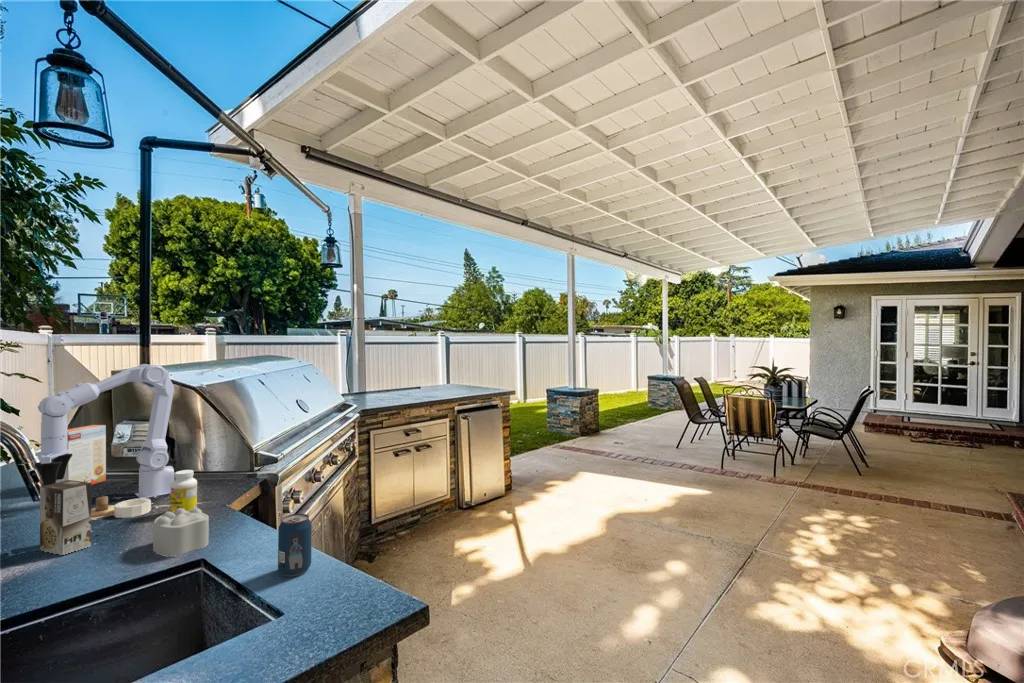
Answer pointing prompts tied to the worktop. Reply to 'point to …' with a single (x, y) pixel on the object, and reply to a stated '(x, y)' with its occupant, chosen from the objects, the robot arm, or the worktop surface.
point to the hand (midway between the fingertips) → (54, 482)
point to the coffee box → (65, 517)
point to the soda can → (294, 544)
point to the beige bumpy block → (180, 532)
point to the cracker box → (86, 454)
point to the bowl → (132, 508)
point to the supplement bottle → (183, 491)
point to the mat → (101, 516)
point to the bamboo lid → (102, 507)
